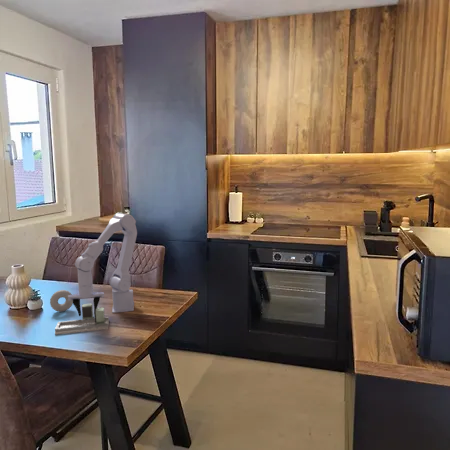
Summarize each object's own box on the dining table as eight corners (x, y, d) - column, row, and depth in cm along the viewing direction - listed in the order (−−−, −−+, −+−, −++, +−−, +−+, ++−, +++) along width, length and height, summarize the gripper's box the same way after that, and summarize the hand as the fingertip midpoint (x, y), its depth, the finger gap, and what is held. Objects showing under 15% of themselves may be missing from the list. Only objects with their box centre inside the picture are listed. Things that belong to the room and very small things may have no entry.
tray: (109, 320, 170) (107, 304, 169) (108, 329, 161) (106, 312, 160) (58, 325, 165) (57, 309, 164) (55, 334, 157) (53, 317, 156)
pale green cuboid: (83, 317, 174) (82, 304, 173) (93, 316, 175) (92, 303, 174) (82, 320, 171) (81, 307, 170) (92, 319, 172) (91, 306, 171)
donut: (51, 314, 178) (49, 293, 176) (50, 312, 181) (48, 291, 179) (74, 310, 183) (73, 289, 181) (73, 308, 186) (71, 287, 184)
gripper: (103, 280, 176) (105, 309, 178) (68, 283, 173) (71, 313, 175) (102, 284, 170) (104, 315, 172) (66, 287, 166) (68, 319, 168)
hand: (87, 314), depth 173 cm, fingers open, 6 cm apart
